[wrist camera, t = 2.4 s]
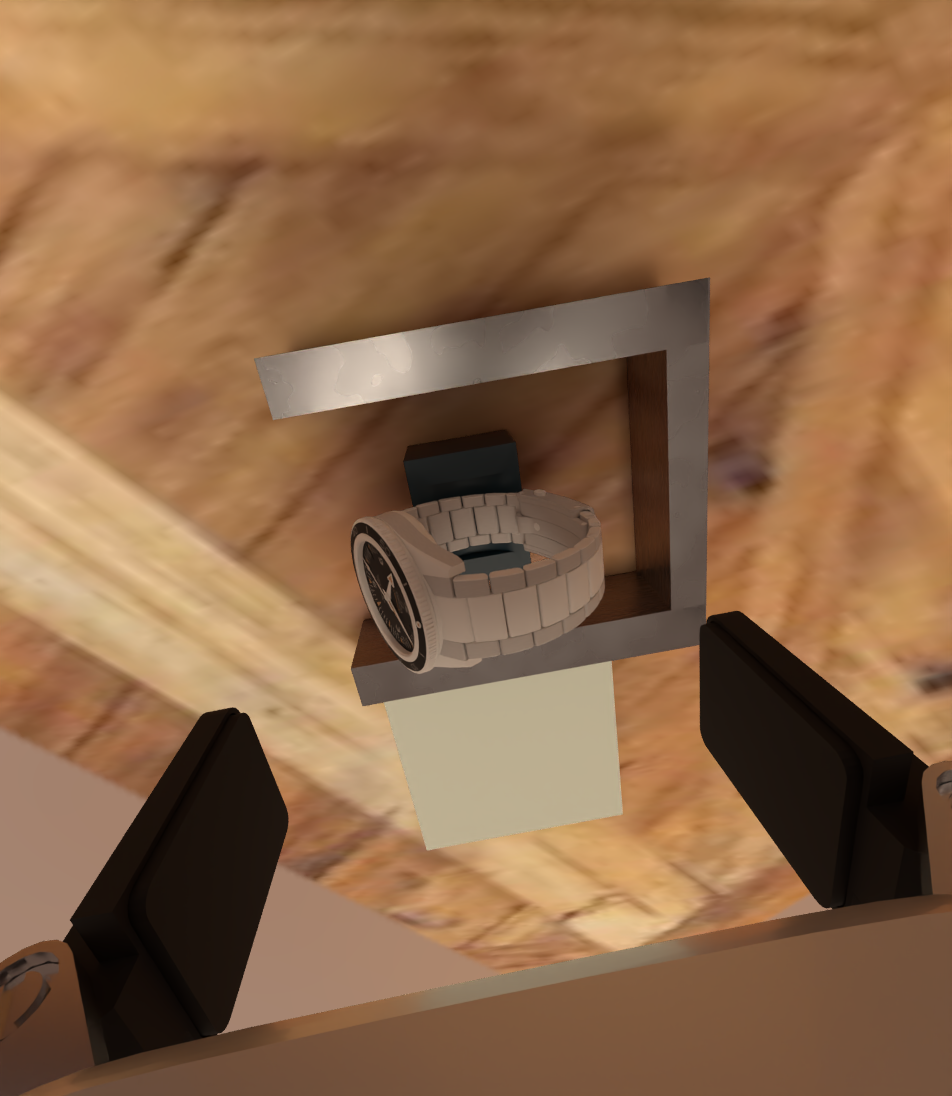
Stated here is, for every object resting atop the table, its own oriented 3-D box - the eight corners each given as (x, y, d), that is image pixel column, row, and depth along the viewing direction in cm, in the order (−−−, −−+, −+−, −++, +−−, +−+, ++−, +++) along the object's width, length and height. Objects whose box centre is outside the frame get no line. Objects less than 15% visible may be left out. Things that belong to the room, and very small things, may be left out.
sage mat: (381, 682, 26) (380, 690, 26) (606, 641, 26) (610, 648, 26) (427, 841, 31) (427, 850, 30) (619, 805, 31) (622, 814, 30)
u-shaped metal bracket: (287, 356, 20) (254, 358, 17) (660, 289, 20) (709, 277, 17) (373, 654, 26) (362, 706, 22) (667, 600, 26) (705, 643, 22)
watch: (363, 454, 22) (299, 548, 12) (545, 422, 22) (638, 489, 12) (391, 569, 24) (358, 733, 14) (557, 540, 24) (645, 683, 14)
